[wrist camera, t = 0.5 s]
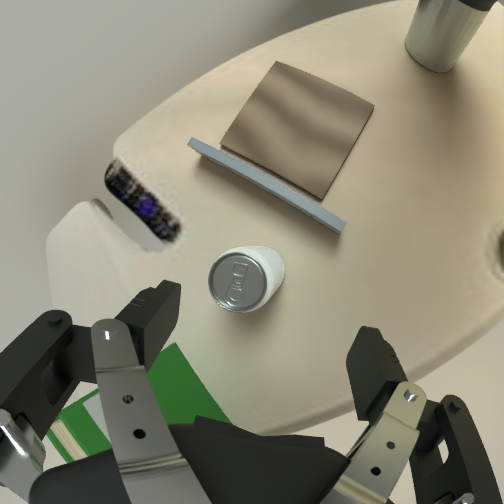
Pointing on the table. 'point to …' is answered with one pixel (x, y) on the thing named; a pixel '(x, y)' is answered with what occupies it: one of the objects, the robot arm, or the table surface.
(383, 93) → the table surface
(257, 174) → the low wall
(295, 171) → the walnut board
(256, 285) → the can
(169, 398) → the hardback book
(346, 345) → the table surface
